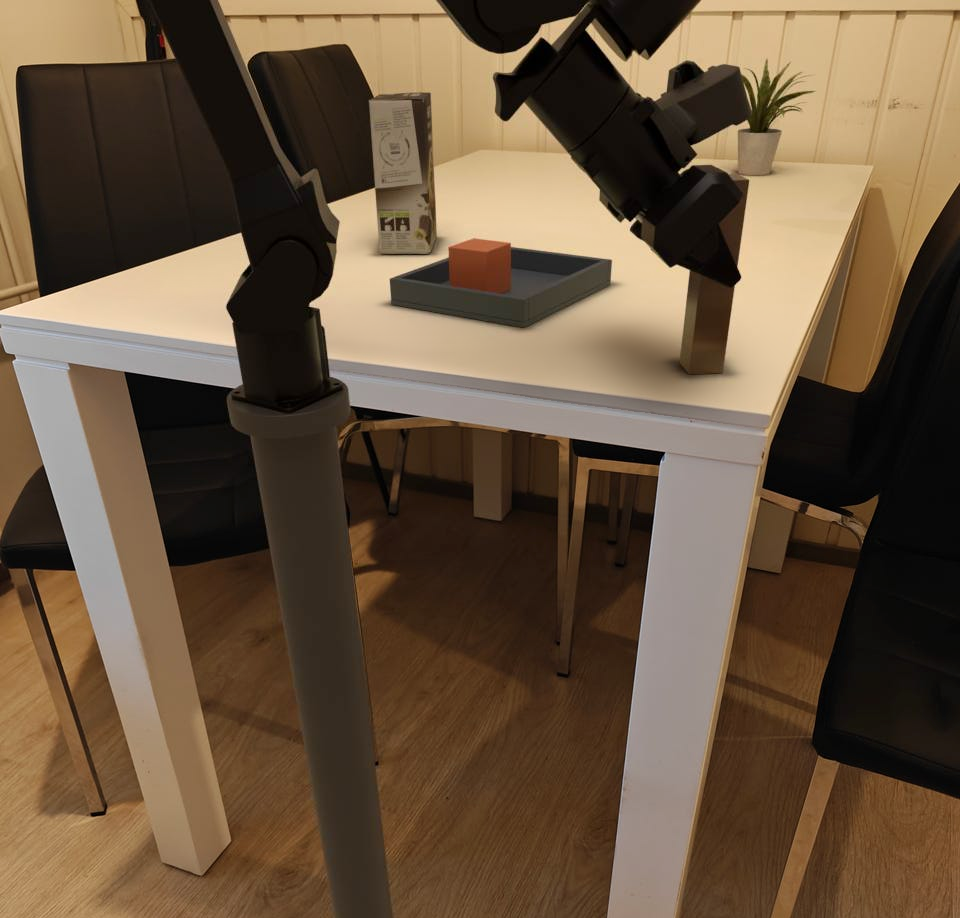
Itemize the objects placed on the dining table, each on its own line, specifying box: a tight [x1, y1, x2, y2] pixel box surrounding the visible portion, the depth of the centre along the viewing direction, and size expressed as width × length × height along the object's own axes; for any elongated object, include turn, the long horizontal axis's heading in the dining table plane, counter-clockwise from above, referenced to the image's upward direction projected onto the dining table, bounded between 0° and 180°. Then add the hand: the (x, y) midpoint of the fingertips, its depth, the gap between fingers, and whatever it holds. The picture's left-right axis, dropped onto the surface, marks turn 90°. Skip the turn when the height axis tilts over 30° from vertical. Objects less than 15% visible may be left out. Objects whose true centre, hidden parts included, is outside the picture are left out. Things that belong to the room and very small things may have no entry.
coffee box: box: [368, 91, 438, 255], centre depth 107 cm, size 9×6×16 cm
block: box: [448, 237, 512, 294], centre depth 91 cm, size 4×4×4 cm
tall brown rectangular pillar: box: [679, 173, 750, 375], centre depth 70 cm, size 3×3×14 cm
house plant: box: [737, 58, 816, 176], centre depth 147 cm, size 14×14×16 cm
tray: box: [389, 246, 613, 328], centre depth 93 cm, size 18×16×2 cm
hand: (729, 277), depth 70 cm, fingers closed on tall brown rectangular pillar, 3 cm apart
